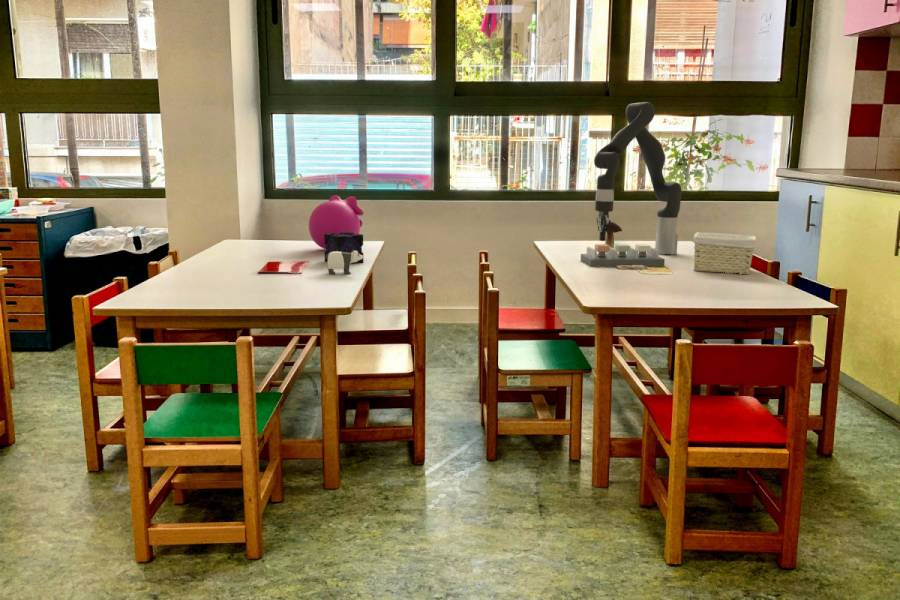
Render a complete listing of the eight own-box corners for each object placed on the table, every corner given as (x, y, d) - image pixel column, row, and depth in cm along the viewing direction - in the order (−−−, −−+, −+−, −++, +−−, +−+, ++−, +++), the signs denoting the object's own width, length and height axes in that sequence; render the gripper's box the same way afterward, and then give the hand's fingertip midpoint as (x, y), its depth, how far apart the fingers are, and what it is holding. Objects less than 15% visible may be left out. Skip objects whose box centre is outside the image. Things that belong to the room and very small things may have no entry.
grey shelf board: (651, 260, 344) (652, 245, 342) (664, 266, 328) (665, 251, 327) (580, 260, 341) (581, 245, 339) (590, 266, 325) (591, 251, 324)
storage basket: (752, 269, 322) (756, 234, 319) (753, 276, 308) (756, 239, 304) (692, 266, 330) (695, 231, 327) (690, 272, 316) (693, 235, 312)
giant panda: (326, 275, 298) (325, 250, 296) (325, 272, 304) (325, 248, 302) (364, 274, 301) (364, 249, 299) (363, 271, 306) (362, 247, 304)
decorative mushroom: (607, 256, 355) (609, 223, 352) (592, 252, 364) (593, 221, 361) (625, 254, 360) (627, 222, 357) (610, 251, 369) (612, 220, 366)
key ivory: (645, 254, 337) (646, 244, 336) (649, 256, 332) (650, 245, 331) (634, 254, 337) (635, 244, 336) (638, 256, 332) (639, 245, 331)
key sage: (625, 254, 336) (626, 244, 335) (629, 256, 332) (630, 245, 331) (614, 254, 336) (615, 244, 335) (618, 256, 331) (618, 245, 330)
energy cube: (338, 265, 321) (337, 236, 319) (324, 261, 331) (324, 233, 328) (363, 263, 328) (363, 234, 326) (349, 259, 338) (349, 231, 335)
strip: (643, 267, 324) (643, 264, 324) (647, 269, 320) (647, 266, 320) (615, 267, 323) (615, 265, 323) (619, 269, 319) (619, 266, 319)
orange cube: (605, 255, 335) (606, 244, 335) (609, 256, 331) (609, 245, 330) (594, 255, 335) (594, 244, 334) (597, 256, 330) (598, 245, 329)
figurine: (371, 249, 367) (370, 196, 362) (338, 255, 347) (337, 199, 342) (333, 245, 379) (332, 193, 374) (299, 251, 359) (297, 196, 354)
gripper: (618, 201, 322) (615, 242, 325) (608, 198, 335) (606, 238, 338) (600, 201, 321) (598, 242, 325) (591, 198, 334) (589, 238, 337)
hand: (602, 240), depth 331 cm, fingers closed
